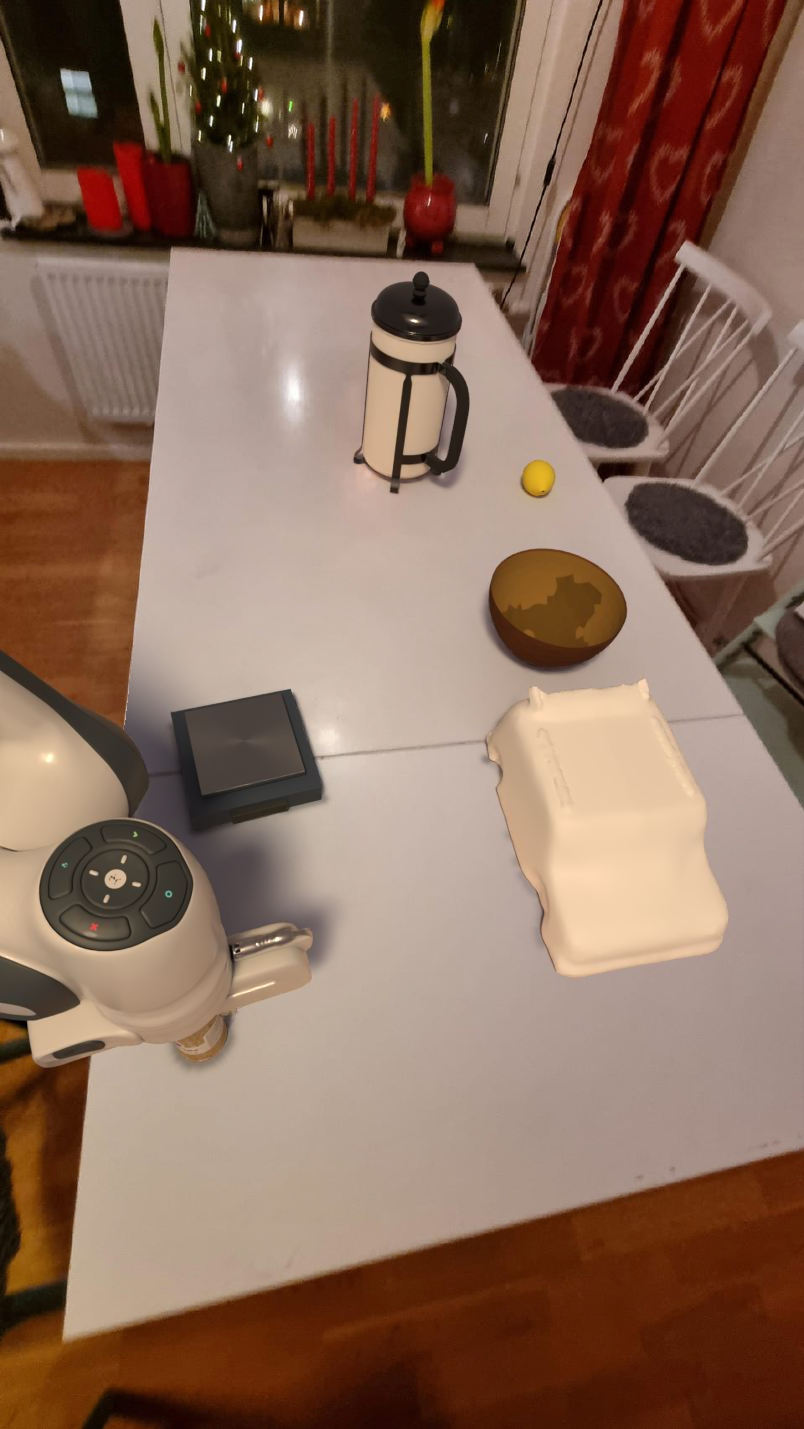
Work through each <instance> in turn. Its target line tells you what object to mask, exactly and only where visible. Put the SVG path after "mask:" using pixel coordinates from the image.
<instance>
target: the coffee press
mask: <svg viewBox="0 0 804 1429" xmlns="http://www.w3.org/2000/svg"><path fill="white" fill-rule="evenodd" d="M429 277H430V276H429V275H428V273H427V272H425V271H422V270H421V271H417V272H416V273H415V274H414V276H413V278H412V281H411V280H409V281H408V280H407V281H399V282H395V283H392V284H389V285H388V286H386V287H384V288H383V289H382V290H381V291H380V292H379V293H378V294H377V297H376V299H374V301H373V302H372V303H371V306H370V316H371V319H372V329H371V331H370V335H369V348H368V359H367V371H366V384H365V397H364V412H363V421H362V422H363V424H362V433H361V434H362V437H361V445H360V447H359V448H358V449H357V450H356V451H355V452H354V455H353V463H355V464H357V465H360V464H362V463H364V462H366V463H367V464H368V466H369V467H370V468H371V469H372V470H374V471H376V472H377V473H379V474H381V475H382V476H385V477H388V478H390V487H389V493H393V494H399V488H400V487H399V486H400V480H410V479H415V478H418V477H421V476H423V475H424V474H427V473H428V472H430V473H431V474H433V475H434V476H436V477H438V476H439V477H440V476H441V475H442V474H444V473H445V474H446V473H448V472H451V471H453V469H455V468H456V466H457V465H458V463H459V460H460V457H461V453H462V449H463V446H464V445H463V444H464V440H465V435H466V431H467V426H468V420H469V414H470V407H471V406H470V403H471V402H470V401H471V399H470V391H469V387H468V384H467V381H466V379H465V377H464V376H463V374H462V373H461V372H460V371H459V369H458V368H457V367H456V366H454V364H455V357H456V351H457V337H458V333H459V332H460V331H461V330H462V325H463V316H462V314H461V313H460V308H459V306H458V303H457V301H456V300H455V298H454V297H453V296H452V295H451V294H450V293H448V292H447V291H446V290H444V289H442V288H441V287H439V286H436V285H433V284H431V281H430V278H429ZM450 385H451V386H452V388H453V390H454V394H455V401H456V405H455V412H454V418H453V422H452V423H453V424H452V428H451V433H450V439H449V443H448V450H447V454H446V457H445V459H444V460H443V459H441V458H440V457H438V454H439V447H440V442H441V436H442V431H443V427H444V426H443V425H444V419H445V414H446V409H447V403H448V397H449V393H450V392H449V391H450ZM361 452H362V454H363V456H362V457H361V458H357V456H358V455H359V454H360V453H361Z"/></svg>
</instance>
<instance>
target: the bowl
mask: <svg viewBox="0 0 804 1429" xmlns="http://www.w3.org/2000/svg"><path fill="white" fill-rule="evenodd" d="M627 605H628V604H627V601H626V598H625V595H624V592H623V591H622V589H621V587H620V586H619V584H618V583H617V581H615V579H614V578H613V577H612V576H611V575H610V574H609V573H608V572H607V571H606V570H605V569H603V567H600V566H599V565H598V564H596V563H594V562H593V561H591V560H589V559H588V558H586V557H583V556H581V555H578V554H576V553H572V552H569V551H565V550H563V549H562V550H561V549H555V548H530V549H525V550H521V551H520V550H519V552H515V553H513V554H510V555H509V556H507V557H505V558H504V559H503V560H502V561H501V562H500V563H499V564H498V565H497V566H496V568H495V569H494V572H493V574H492V576H491V579H490V583H489V589H488V610H489V614H490V619H491V622H492V624H493V627H494V629H495V631H496V634H497V635H498V638H499V639H500V640H501V642H502V643H503V644H504V646H505V647H506V648H507V649H508V650H509V651H510V652H511V653H512V654H513V655H515V656H516V657H517V658H519V659H520V660H522V661H524V662H526V663H528V664H531V665H533V666H537V667H541V668H547V669H548V668H549V669H550V668H555V669H556V668H565V667H570V666H574V665H578V664H581V663H584V662H586V661H588V660H590V659H593V658H594V657H596V656H598V655H599V654H601V652H603V651H604V650H605V649H607V648H608V647H609V646H610V645H611V644H612V643H613V642H614V640H615V639H616V638H617V637H618V636H619V634H620V632H621V631H622V629H623V627H624V625H625V623H626V621H627V617H628V606H627Z"/></svg>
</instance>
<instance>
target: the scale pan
mask: <svg viewBox="0 0 804 1429" xmlns="http://www.w3.org/2000/svg"><path fill="white" fill-rule="evenodd" d="M185 718H186V722H187V727H188V732H189V737H190V741H191V746H192V751H193V756H194V760H195V765H196V770H197V775H198V780H199V784H200V789H201V794H202V798H206V797H210V796H214V795H219V794H223V793H227V792H232V791H236V790H240V789H244V788H249V787H253V786H257V785H261V784H266V783H270V782H274V781H279V780H283V779H287V778H291V777H296V776H300V775H304V774H305V769H304V766H303V762H302V759H301V756H300V753H299V749H298V746H297V743H296V740H295V736H294V733H293V730H292V727H291V723H290V720H289V717H288V714H287V711H286V707H285V704H284V701H283V698H282V694H281V693H279V694H274V695H269V696H264V697H259V698H254V699H249V700H244V701H239V702H234V703H229V704H224V705H219V706H214V707H208V708H203V709H198V710H193V711H188V712H185Z"/></svg>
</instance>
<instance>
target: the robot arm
mask: <svg viewBox="0 0 804 1429" xmlns="http://www.w3.org/2000/svg"><path fill="white" fill-rule="evenodd" d="M149 788H150V776H149V772H148V769H147V766H146V763H145V761H144V758H143V755H142V753H141V750H140V749H139V748H138V745H137V744H136V742H135V740H134V739H133V738H132V736H131V735H130V734H129V732H128V731H126V730H125V729H123V728H122V727H121V726H119V725H118V724H117V723H115V722H113V720H111V719H109V718H108V717H105V716H104V715H101V714H100V713H98V712H96V711H95V710H93V709H90V708H88V707H87V706H85V705H83V704H81V703H78V702H77V701H75V700H73V699H71V698H69V697H68V696H66V695H65V694H62V693H61V692H60V691H59V690H57V689H55V687H53V686H51V685H50V684H49V683H47V682H46V681H45V680H44V679H42V678H41V677H39V676H38V675H36V674H35V673H34V672H33V671H31V670H30V669H28V668H27V667H25V666H24V665H23V664H21V663H20V661H19V662H18V661H17V660H16V659H15V658H14V657H12V656H11V655H9V654H8V653H7V652H5V651H4V650H2V649H1V648H0V1019H3V1020H4V1019H5V1020H10V1021H24V1022H25V1021H26V1023H27V1032H28V1033H27V1034H28V1039H29V1046H30V1051H31V1058H32V1061H33V1062H34V1063H35V1064H36V1065H37V1066H40V1067H41V1068H55V1067H59V1066H63V1065H66V1064H69V1063H72V1062H74V1061H78V1060H81V1059H83V1058H87V1057H90V1056H93V1055H96V1054H99V1053H102V1052H103V1053H104V1052H106V1051H109V1050H111V1049H115V1048H117V1047H118V1048H119V1047H132V1046H139V1045H142V1044H143V1043H145V1044H152V1045H162V1044H170V1043H174V1041H178V1040H181V1039H184V1038H186V1037H188V1036H190V1035H192V1034H194V1033H195V1032H197V1031H198V1030H200V1029H201V1028H203V1027H204V1026H205V1025H206V1024H207V1023H208V1022H209V1021H210V1020H211V1019H212V1018H213V1017H214V1016H215V1015H218V1014H219V1015H220V1017H226V1016H229V1015H232V1014H236V1013H238V1009H240V1008H242V1007H245V1006H249V1005H251V1004H255V1003H258V1002H261V1001H264V1000H267V999H271V998H273V997H277V996H279V995H283V994H286V993H289V992H292V991H294V990H299V989H300V988H303V987H304V986H306V985H308V984H309V983H310V982H311V981H312V979H313V977H312V976H313V975H312V971H311V966H310V962H309V958H308V955H307V951H308V950H310V949H311V947H312V945H313V938H314V937H313V936H314V934H313V932H312V931H311V929H310V928H308V927H304V928H300V929H298V928H297V926H296V925H295V924H293V923H292V922H287V921H280V922H274V923H270V924H265V925H262V926H259V927H255V928H252V929H247V930H245V931H242V932H239V933H234V934H231V935H228V936H227V935H226V932H225V928H224V925H223V923H222V919H221V913H220V908H219V905H218V902H217V898H216V895H215V892H214V889H213V886H212V884H211V881H210V879H209V877H208V875H207V873H206V871H205V869H204V867H203V866H202V865H201V863H200V862H199V861H198V859H197V858H196V857H195V855H194V854H193V853H192V852H191V850H190V849H188V847H187V846H186V845H185V844H184V843H183V842H182V841H181V840H179V839H178V838H177V837H176V836H175V835H173V834H172V833H170V832H169V831H168V830H166V829H165V828H163V827H161V826H159V825H158V824H155V823H153V822H150V821H147V820H144V819H140V818H135V817H134V815H135V814H136V812H137V810H138V808H139V806H140V805H141V803H142V801H143V800H144V797H145V796H146V794H147V792H148V790H149Z"/></svg>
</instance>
